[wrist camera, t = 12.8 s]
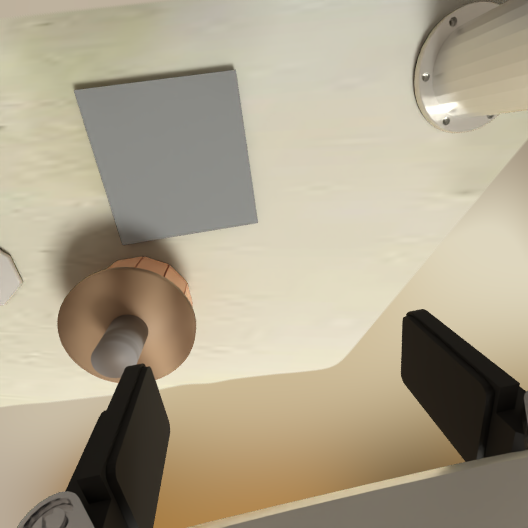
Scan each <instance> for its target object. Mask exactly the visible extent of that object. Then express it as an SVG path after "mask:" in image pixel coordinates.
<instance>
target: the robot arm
mask: <svg viewBox="0 0 528 528" xmlns="http://www.w3.org/2000/svg"><path fill="white" fill-rule="evenodd" d="M422 77H423V80H422ZM414 86H415V96H416V99H417V103H418V106H419V108H420V110H421V112H422V114H423V116H424V117H425V118H426V119H427V121H428V122H429V123H430V124H432V125H433V126H434V127H435V128H438V129H440V130H442V131H445V132H450V133H463V132H470V131H474V130H476V129H479V128H481V127H483V126H485V125H487V124H488V123H490V122H491V121H492V120H494V119H495V118H496V117H497V116H498V115H499V114H502V113H510V112H518V111H526V110H528V0H509V1H507V2H505V3H503V4H501V5H500V4H497V3H493V2H490V1H478V2H474V3H470V4H467V5H465V6H463V7H461V8H459V9H457V10H455V11H454V12H452V13H450V14H449V15H447V16H446V17H445V18H444V19H443V20H442V21H440V22H439V23H438V24H437V25H436V27H435V28H434V29H433V30H432V32H431V33H430V34H429V36H428V38H427V39H426V41H425V43H424V45H423V47H422V49H421V52H420V54H419V57H418V60H417V65H416V69H415V79H414ZM401 360H402V361H401V377H402V380H403V382H404V384H405V385H406V386H407V388H408V389H409V390H410V391H411V393H412V394H413V395H414V397H415V398H416V399H417V400H418V402H419V403H420V404H421V405H422V407H423V408H424V409H425V410H426V412H427V413H428V414H429V416H430V417H431V418H432V419H433V421H434V422H435V423H436V425H437V426H438V427H439V428H440V430H441V431H442V432H443V433H444V435H445V436H446V437H447V439H448V440H449V441H450V442H451V444H452V445H453V446H454V448H455V449H456V450H457V451H458V453H459V454H460V455H461V456H462V458H463V459H464V460H465V462H464V463H459V464H454V465H450V466H446V467H441V468H437V469H432V470H428V471H424V472H420V473H415V474H411V475H406V476H402V477H397V478H393V479H389V480H384V481H380V482H376V483H371V484H367V485H363V486H359V487H355V488H350V489H346V490H341V491H337V492H333V493H329V494H325V495H320V496H316V497H312V498H307V499H304V500H299V501H295V502H291V503H286V504H282V505H278V506H274V507H270V508H265V509H262V510H257V511H253V512H249V513H245V514H241V515H236V516H232V517H228V518H224V519H220V520H216V521H212V522H208V523H204V524H200V525H196V526H192V527H188V528H528V391H527V392H526V391H525V390H523V389H522V388H521V387H520V386H519V385H520V383H519V382H517V381H516V380H515V379H514V378H512V377H511V376H510V375H508V374H507V373H506V372H505V371H503V370H502V369H501V368H499V367H498V366H497V365H496V364H494V363H493V362H492V361H490V360H489V359H488V358H487V357H485V356H484V355H483V354H482V353H480V352H479V351H477V350H476V349H475V348H474V347H473V346H471V345H470V344H469V343H467V342H466V341H464V339H462V338H461V337H460V336H458V335H457V334H456V333H455V332H453V331H452V330H451V329H450V328H448V327H447V326H446V325H444V324H443V323H442V322H441V321H439V320H438V319H437V318H435V317H434V316H433V315H431V314H430V313H429V312H428V311H426V310H424V309H421V310H416V311H410V312H408V313H407V314H406V317H404V318H403V325H402V358H401ZM169 436H170V424H169V420H168V417H167V414H166V411H165V408H164V405H163V402H162V399H161V396H160V393H159V390H158V387H157V384H156V381H155V378H154V375H153V372H152V369H151V367H150V366H148V367H146V366H145V364H143V363H142V364H136V365H131V366H127V367H126V368H125V369H124V372H123V374H122V376H121V379H120V381H119V383H118V385H117V388H116V390H115V392H114V395H113V397H112V399H111V401H110V404H109V406H108V408H107V410H106V411H104V412H102V413H101V415H100V417H99V419H98V421H97V423H96V425H95V427H94V430H93V432H92V434H91V436H90V438H89V441H88V443H87V445H86V447H85V449H84V452H83V454H82V456H81V458H80V460H79V463H78V465H77V467H76V469H75V472H74V474H73V476H72V478H71V480H70V482H69V485H68V487H67V489H66V491H65V492H59V493H56V494H54V495H52V496H49V497H48V498H46V499H44V500H43V501H41V502H40V503H38V504H37V505H36V506H35V507H34V508H33V509H31V510H30V511H29V512H28V513H27V515H26V516H25V517H24V518H23V519H22V520H21V522H20V523H19V525H18V526H17V528H153V525H154V519H155V514H156V508H157V503H158V496H159V491H160V486H161V480H162V475H163V469H164V464H165V458H166V452H167V447H168V441H169Z"/></svg>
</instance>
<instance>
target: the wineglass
mask: <svg viewBox="0 0 528 528" xmlns="http://www.w3.org/2000/svg"><path fill="white" fill-rule="evenodd" d="M22 283H23V282H22V280H21V277H20V275H19V273H18V271H17V269H16V267H15V265H14V263H13V261H12V258H11V256H9V255H8V254H6V253H5V252H3V251H1V250H0V305H4V304H6V303H7V302H8V301H9V300H10V298H11V297H12V296H13V295H14V294H15V292H16V291H17V290H18V289H19V287H20V286H21V285H22Z"/></svg>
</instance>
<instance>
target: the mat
mask: <svg viewBox="0 0 528 528" xmlns="http://www.w3.org/2000/svg"><path fill="white" fill-rule="evenodd" d="M74 93H75V96H76V99H77V103H78V106H79V109H80V112H81V115H82V118H83V122H84V125H85V128H86V131H87V134H88V137H89V141H90V144H91V147H92V150H93V153H94V156H95V160H96V163H97V166H98V169H99V172H100V175H101V179H102V182H103V185H104V188H105V191H106V194H107V198H108V201H109V204H110V207H111V210H112V213H113V217H114V220H115V223H116V226H117V229H118V232H119V236H120V239H121V242H122V245H127V244H133V243H139V242H145V241H151V240H157V239H163V238H169V237H175V236H181V235H187V234H193V233H199V232H206V231H212V230H218V229H224V228H230V227H236V226H242V225H248V224H254V223H258V219H257V212H256V206H255V199H254V192H253V185H252V178H251V171H250V164H249V158H248V151H247V144H246V137H245V130H244V123H243V116H242V110H241V103H240V96H239V89H238V82H237V75H236V70H229V71H221V72H214V73H206V74H198V75H190V76H182V77H174V78H166V79H158V80H150V81H143V82H135V83H127V84H119V85H111V86H103V87H95V88H87V89H80V90H74Z"/></svg>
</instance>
